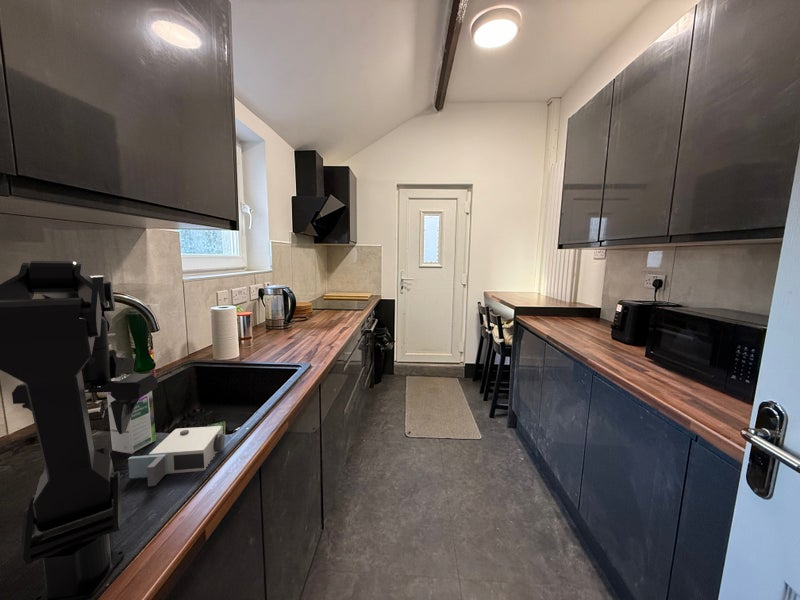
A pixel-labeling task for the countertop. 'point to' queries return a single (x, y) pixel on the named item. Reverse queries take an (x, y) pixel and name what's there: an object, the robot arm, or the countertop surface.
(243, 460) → the countertop surface
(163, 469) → the grey l-shaped block
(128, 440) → the syrup box
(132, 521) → the countertop surface
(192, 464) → the camera housing
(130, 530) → the countertop surface
